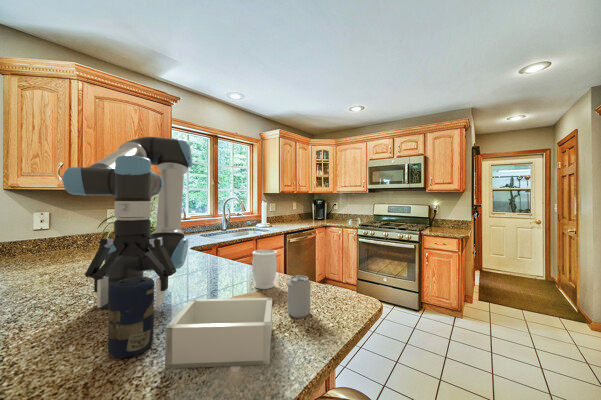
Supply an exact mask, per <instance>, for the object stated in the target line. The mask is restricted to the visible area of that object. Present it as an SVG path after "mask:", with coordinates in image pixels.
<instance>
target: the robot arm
mask: <svg viewBox="0 0 601 400" xmlns="http://www.w3.org/2000/svg"><path fill="white" fill-rule="evenodd" d="M192 155H193V154H192V149H191V145H190V142H189V140H187V139H182V138H179V137H176V138H171V137H160V136H157V137H156V136H144V137H143V136H142V137H137V138H134V139H131V140H128V141H126V142H124V143H122V144H121V145H120V146H119V147H118V149H117V150H115V151H114V152H112V153H110V154H109V155H106V156H105V157H103V158H101V159H100V160H97V161H96V162H94V163H93V164H91V165H89V166H86V167H85V166H72V167H71V166H70V167H68V168H66V169H65V171H64V172H63V175H62V184H63V188H64V190H65V191H66V192H67V193H69V194H71V195H74V196H76V195H77V196H85V197H86V196H114V218H115V221H113V234H114V239H113V238H112V237H106V238H102V239H100V240H99V247H98V249H97V251H96V252H95V254H94V257H93V259H91V262H90V264H89V266H88V268H87V269H86V271H85V273H84V277H86V278H91V279H93V286H94V287H93V291H94V293H96V296H97V297H96V298H97V299H96V307H97V308H99V309H103V310H108V303H109V288H110V286H111V285H112V284H113V283H115V282H117V281H120V280H123V279H127V278H131V277H144V272H151V271H154V273H156V275H157V276H158V278H156V281H155V282H156V283H155V288H156V289H155V306H156V307H160V306H161V305H162V304H164V302H165V291H167V290H168V288H169V277H171V276H173V275H174V274H176V273H177V270H178V269H181V268H183V266H184V264H185V262H186V260H187V255H188V251H189V250H188V249H189V238H187V237H185V233H184V231H182V230H181V229H182V227H181V225H182V210H183V193H184V192H183V191H184V179H185V178H184V177H185V174H186V173H188V172H189V168H191V167H192V166H193V156H192ZM152 166H156V169H157V170H158V171H159V172H160V174H158V173H157V172H156V171H153V168H152ZM156 195H158V199H157V210H156V211H157V212H156V224H155V229H154V230H153V231H152V232H151V220H150V219H149V217H151V216H152V215H151V209H152V208H151V203H152V202H151V198H152V197H154V196H156ZM103 263H104V264H103Z"/></svg>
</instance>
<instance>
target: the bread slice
mask: <svg viewBox="0 0 601 400" xmlns="http://www.w3.org/2000/svg"><path fill="white" fill-rule="evenodd" d="M233 298H270V297H269V296H268V295H266V294H265V293H262V292H261V291H257V292H250V293H249V292H248V293H243V294H238V295H235V296H232V297H229V298H227V299H233ZM274 303H275V300H274V299H272V305H274Z"/></svg>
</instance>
